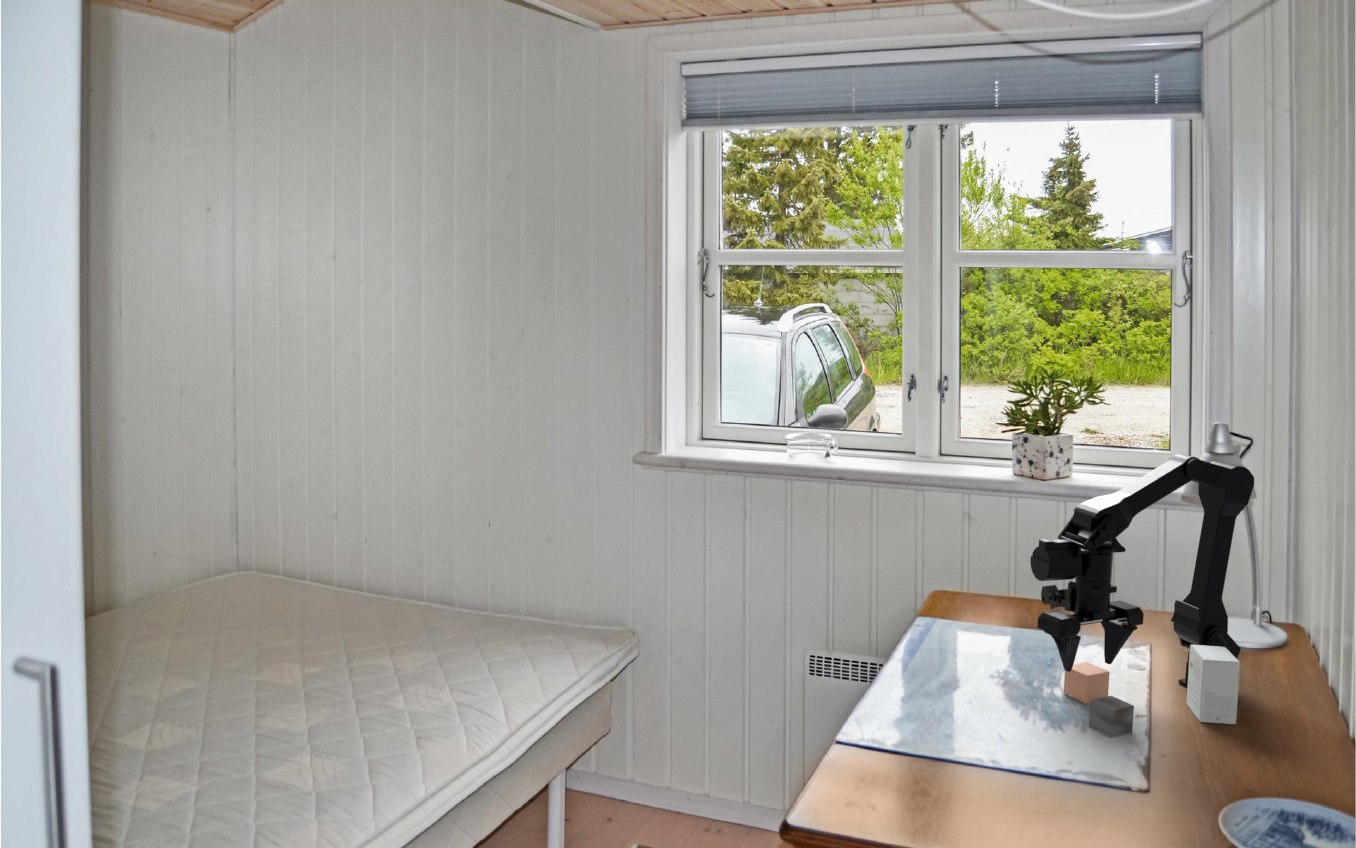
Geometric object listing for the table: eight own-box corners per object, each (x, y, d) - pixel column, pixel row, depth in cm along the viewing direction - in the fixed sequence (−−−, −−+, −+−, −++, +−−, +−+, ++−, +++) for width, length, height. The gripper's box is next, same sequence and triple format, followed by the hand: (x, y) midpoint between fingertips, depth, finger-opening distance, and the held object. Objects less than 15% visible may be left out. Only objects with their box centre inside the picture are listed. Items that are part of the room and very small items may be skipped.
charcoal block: (1109, 722, 171) (1111, 695, 170) (1132, 733, 167) (1134, 705, 166) (1088, 727, 169) (1090, 699, 168) (1110, 738, 165) (1112, 710, 164)
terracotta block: (1085, 690, 185) (1086, 662, 184) (1107, 700, 180) (1109, 671, 180) (1063, 694, 183) (1065, 666, 182) (1085, 704, 178) (1087, 675, 177)
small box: (1236, 726, 170) (1241, 662, 168) (1198, 722, 171) (1203, 659, 169) (1221, 707, 177) (1226, 646, 176) (1185, 704, 179) (1189, 643, 177)
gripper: (1097, 561, 190) (1092, 645, 192) (1016, 571, 182) (1012, 659, 184) (1148, 576, 180) (1142, 665, 182) (1065, 588, 172) (1059, 681, 174)
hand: (1088, 667), depth 181 cm, fingers open, 9 cm apart
